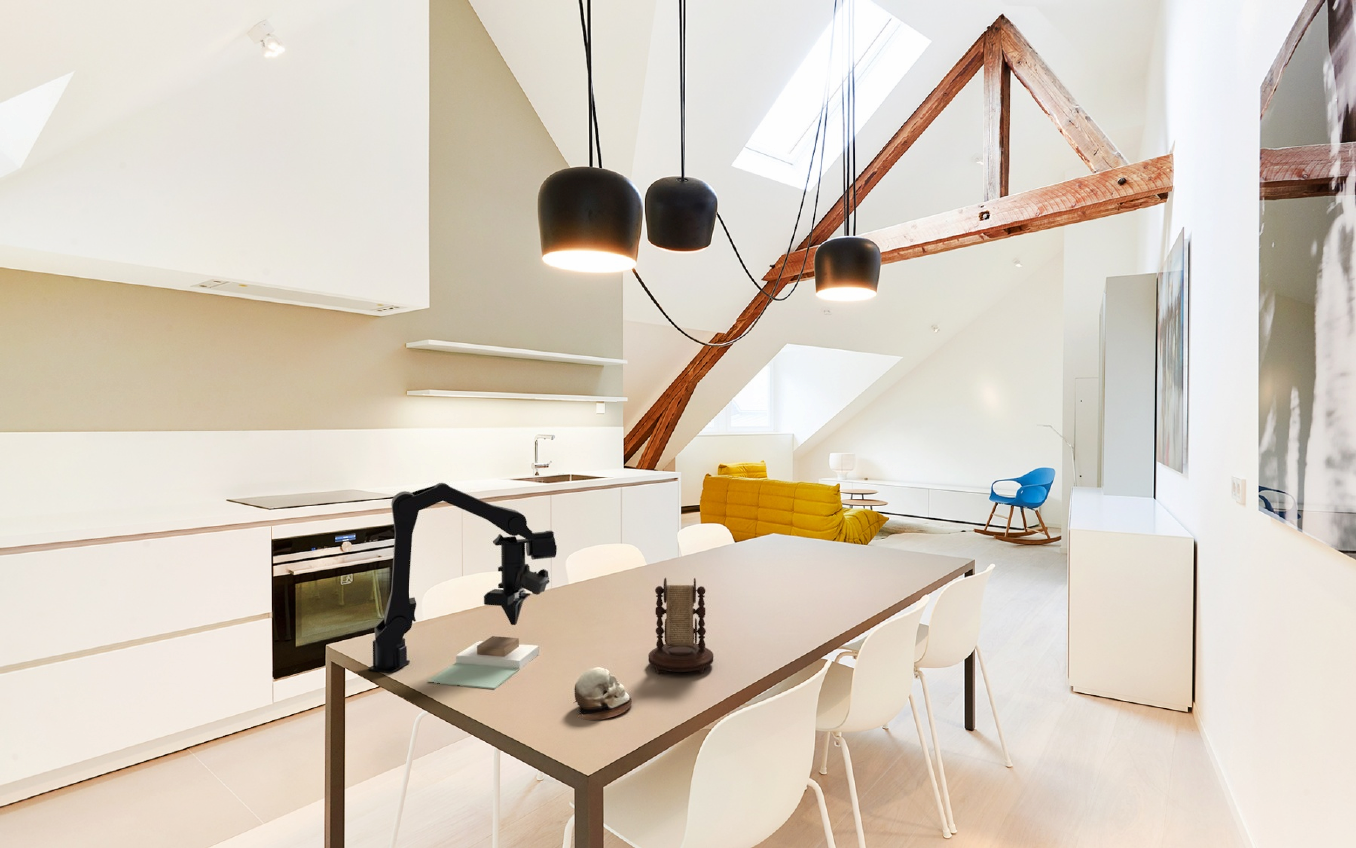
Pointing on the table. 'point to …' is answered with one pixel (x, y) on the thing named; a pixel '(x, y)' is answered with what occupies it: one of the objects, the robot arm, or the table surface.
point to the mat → (474, 675)
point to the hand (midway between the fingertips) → (513, 624)
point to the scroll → (680, 630)
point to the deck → (511, 660)
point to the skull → (600, 695)
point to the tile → (498, 646)
